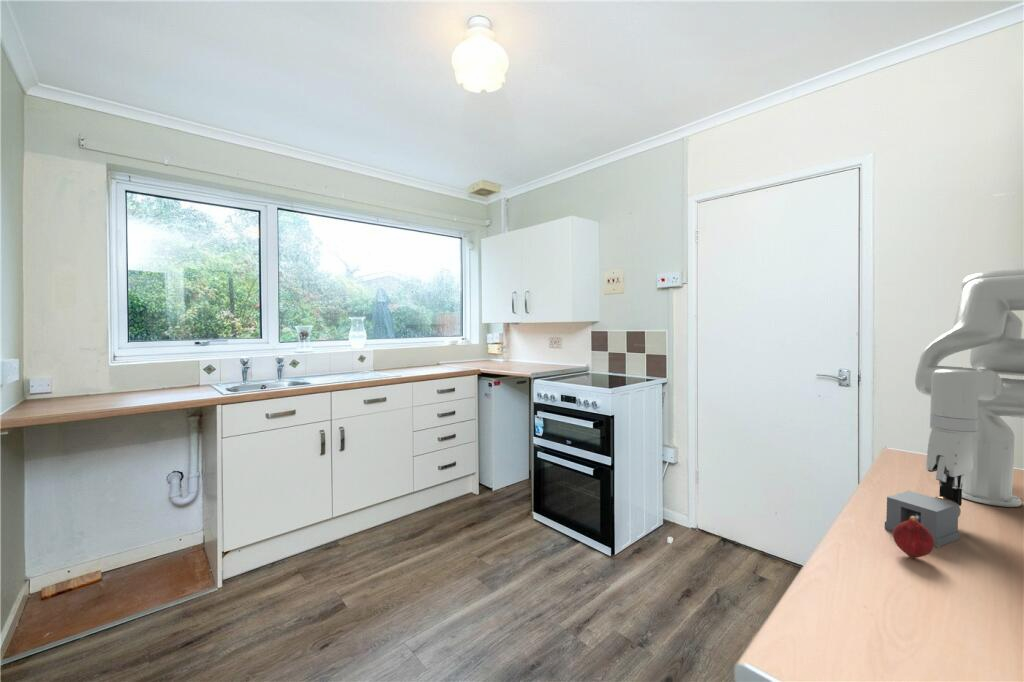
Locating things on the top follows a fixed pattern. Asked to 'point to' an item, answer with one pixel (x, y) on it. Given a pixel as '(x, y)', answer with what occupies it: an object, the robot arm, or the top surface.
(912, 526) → the onion
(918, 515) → the shaft
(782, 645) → the top surface
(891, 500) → the housing
